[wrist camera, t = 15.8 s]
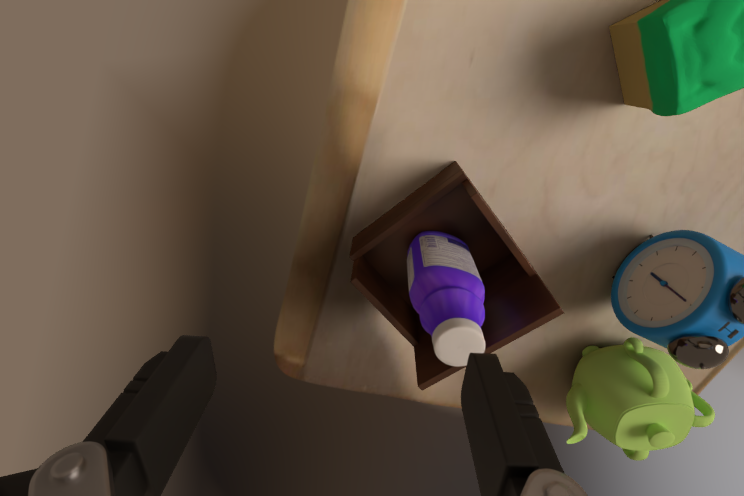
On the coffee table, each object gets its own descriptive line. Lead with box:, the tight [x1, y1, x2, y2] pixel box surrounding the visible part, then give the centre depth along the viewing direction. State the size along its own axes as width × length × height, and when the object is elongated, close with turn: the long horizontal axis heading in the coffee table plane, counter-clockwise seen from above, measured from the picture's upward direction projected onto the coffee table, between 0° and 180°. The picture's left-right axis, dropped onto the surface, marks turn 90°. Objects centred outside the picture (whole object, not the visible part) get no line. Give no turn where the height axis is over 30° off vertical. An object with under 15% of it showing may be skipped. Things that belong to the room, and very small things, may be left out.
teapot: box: [566, 338, 715, 460], centre depth 52 cm, size 16×14×13 cm
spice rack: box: [349, 161, 564, 390], centre depth 42 cm, size 13×16×16 cm
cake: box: [609, 0, 744, 116], centre depth 34 cm, size 10×11×10 cm
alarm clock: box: [611, 230, 744, 369], centre depth 43 cm, size 13×6×15 cm, turn 154°
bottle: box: [407, 231, 485, 366], centre depth 38 cm, size 7×6×17 cm
